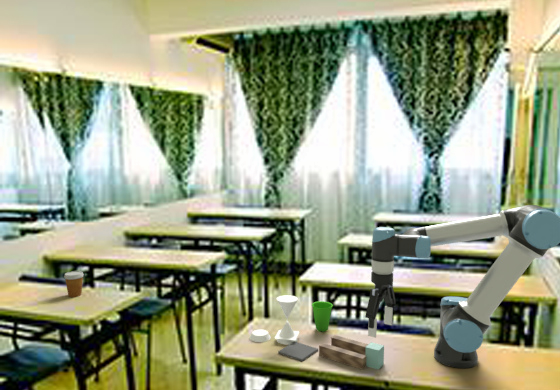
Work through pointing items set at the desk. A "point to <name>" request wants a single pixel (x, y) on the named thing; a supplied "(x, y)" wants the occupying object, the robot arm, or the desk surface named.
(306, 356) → the rubber mat
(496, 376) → the desk surface
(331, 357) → the parallel wooden bars
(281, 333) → the hourglass
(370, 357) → the teal block
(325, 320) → the cup
